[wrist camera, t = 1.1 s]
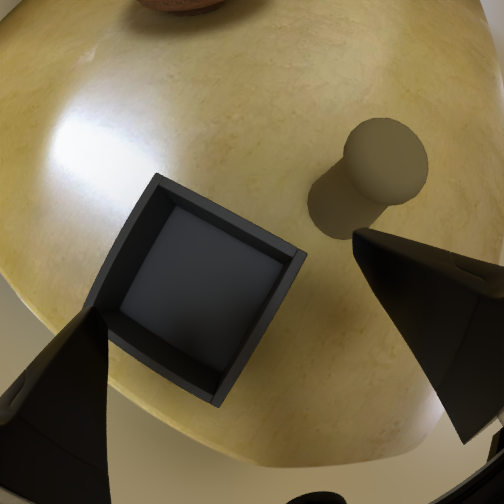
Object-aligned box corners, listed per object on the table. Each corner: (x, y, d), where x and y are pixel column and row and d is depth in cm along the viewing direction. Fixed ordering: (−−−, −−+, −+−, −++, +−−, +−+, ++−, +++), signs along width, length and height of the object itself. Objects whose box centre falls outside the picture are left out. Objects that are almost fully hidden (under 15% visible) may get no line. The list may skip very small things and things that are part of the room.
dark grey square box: (294, 262, 23) (308, 253, 17) (226, 382, 22) (218, 408, 16) (175, 196, 24) (155, 171, 18) (112, 311, 22) (78, 315, 17)
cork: (351, 254, 23) (422, 227, 12) (293, 211, 24) (325, 151, 13) (383, 199, 24) (454, 148, 13) (330, 160, 24) (373, 84, 13)
